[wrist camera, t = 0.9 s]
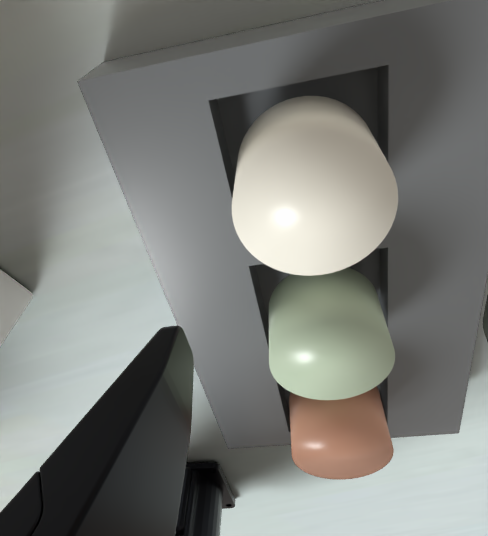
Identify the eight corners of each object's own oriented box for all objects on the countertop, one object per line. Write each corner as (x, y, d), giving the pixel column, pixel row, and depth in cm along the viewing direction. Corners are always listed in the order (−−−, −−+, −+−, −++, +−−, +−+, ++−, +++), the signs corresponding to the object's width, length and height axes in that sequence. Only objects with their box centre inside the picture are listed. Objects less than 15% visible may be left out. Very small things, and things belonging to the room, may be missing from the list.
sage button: (378, 338, 19) (394, 395, 17) (277, 349, 20) (278, 404, 17) (377, 257, 16) (396, 310, 14) (260, 272, 17) (258, 325, 15)
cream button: (376, 215, 15) (397, 265, 13) (251, 233, 16) (248, 284, 14) (374, 81, 13) (399, 114, 10) (223, 111, 13) (214, 147, 11)
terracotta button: (380, 421, 23) (392, 476, 21) (295, 427, 24) (298, 481, 21) (379, 366, 20) (394, 422, 18) (283, 375, 21) (285, 430, 19)
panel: (443, 393, 25) (459, 433, 23) (231, 410, 27) (228, 448, 25) (497, -25, 13) (541, -20, 11) (103, 62, 15) (77, 81, 13)
